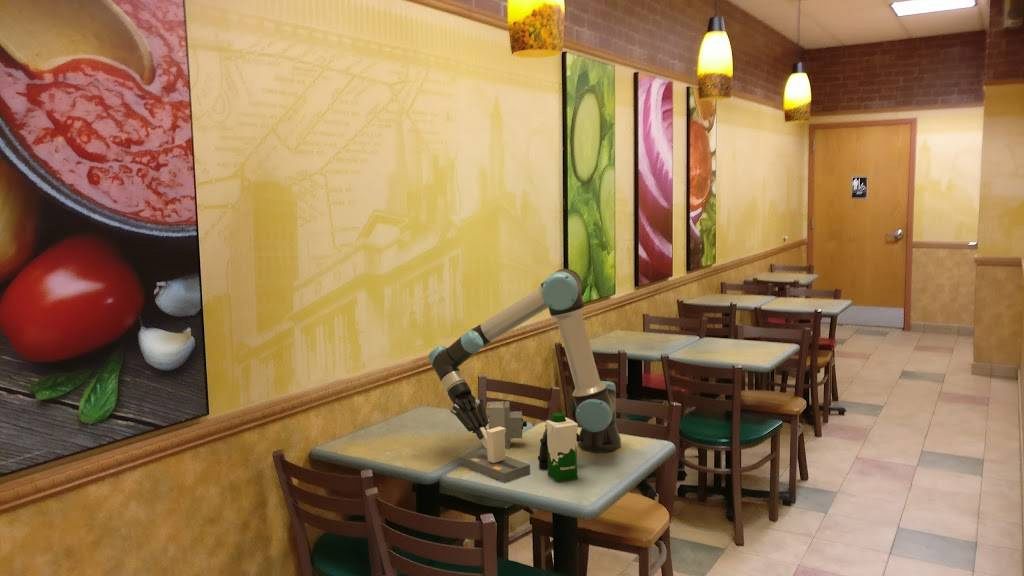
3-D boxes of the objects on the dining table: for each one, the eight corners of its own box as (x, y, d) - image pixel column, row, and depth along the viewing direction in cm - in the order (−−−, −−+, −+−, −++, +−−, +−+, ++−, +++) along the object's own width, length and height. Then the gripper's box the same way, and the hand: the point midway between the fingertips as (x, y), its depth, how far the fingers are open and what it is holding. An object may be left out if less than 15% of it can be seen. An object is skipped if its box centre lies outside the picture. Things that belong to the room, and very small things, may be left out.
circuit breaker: (527, 448, 282) (526, 406, 280) (486, 449, 282) (485, 407, 280) (527, 441, 289) (526, 401, 287) (487, 442, 290) (486, 401, 288)
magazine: (528, 462, 263) (547, 420, 262) (564, 476, 266) (583, 435, 265) (530, 466, 260) (549, 424, 259) (567, 480, 262) (585, 438, 261)
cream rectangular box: (486, 461, 260) (485, 430, 259) (500, 456, 264) (499, 426, 263) (492, 463, 258) (491, 432, 256) (506, 458, 262) (505, 428, 260)
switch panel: (460, 465, 267) (460, 456, 266) (486, 457, 274) (486, 448, 273) (504, 482, 250) (504, 473, 250) (530, 473, 257) (529, 464, 257)
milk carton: (568, 470, 260) (567, 410, 257) (581, 479, 251) (581, 417, 249) (544, 474, 256) (542, 414, 254) (556, 484, 248) (555, 421, 245)
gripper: (467, 390, 279) (499, 447, 269) (436, 397, 270) (468, 456, 260) (476, 377, 274) (509, 435, 264) (445, 384, 266) (478, 444, 255)
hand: (489, 446), depth 262 cm, fingers closed
